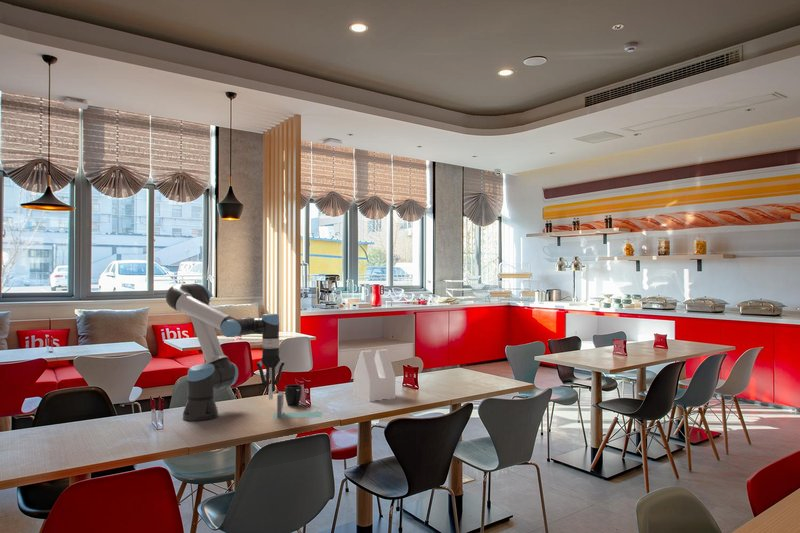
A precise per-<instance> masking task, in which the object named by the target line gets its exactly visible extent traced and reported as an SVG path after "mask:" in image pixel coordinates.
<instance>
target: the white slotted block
mask: <svg viewBox="0 0 800 533" xmlns="http://www.w3.org/2000/svg"><path fill="white" fill-rule="evenodd" d="M395 374H396V373H395V371H394V367H393V363H392V360H391V357H390V353H389V349H387V348H385V349H376V351H375V355H374V354H373V350H361V351H360V353H359V356H358V359H357V362H356V364H355V369H354V371H353V391H352V392H353V393H352V394H354V395H353V396H355V395H356V396H355V397H357V396H358V398H360V397H361V398H360V399H362V398H363V399H362V400H364V399H365V401H367V400H368V401H367V402H369V401H372V402H376V401H375V400H380V401H383V400H382V399H388V400H391V399H390V398H395V399H396V375H395Z"/></svg>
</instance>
